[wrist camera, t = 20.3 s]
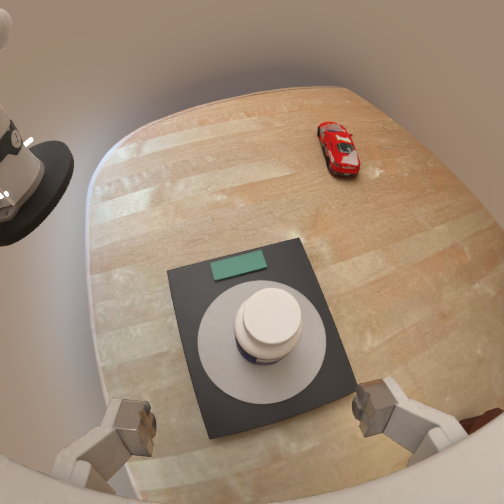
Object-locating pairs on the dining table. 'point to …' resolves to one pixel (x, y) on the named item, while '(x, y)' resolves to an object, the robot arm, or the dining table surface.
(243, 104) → the dining table surface
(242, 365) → the scale
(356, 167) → the race car
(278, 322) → the pill bottle
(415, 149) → the dining table surface
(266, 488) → the dining table surface
